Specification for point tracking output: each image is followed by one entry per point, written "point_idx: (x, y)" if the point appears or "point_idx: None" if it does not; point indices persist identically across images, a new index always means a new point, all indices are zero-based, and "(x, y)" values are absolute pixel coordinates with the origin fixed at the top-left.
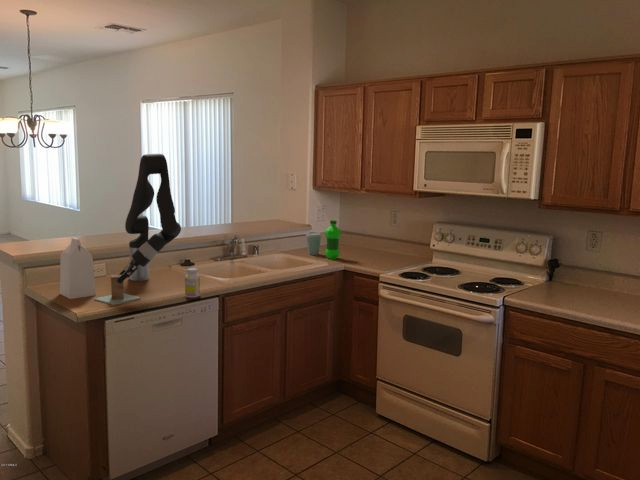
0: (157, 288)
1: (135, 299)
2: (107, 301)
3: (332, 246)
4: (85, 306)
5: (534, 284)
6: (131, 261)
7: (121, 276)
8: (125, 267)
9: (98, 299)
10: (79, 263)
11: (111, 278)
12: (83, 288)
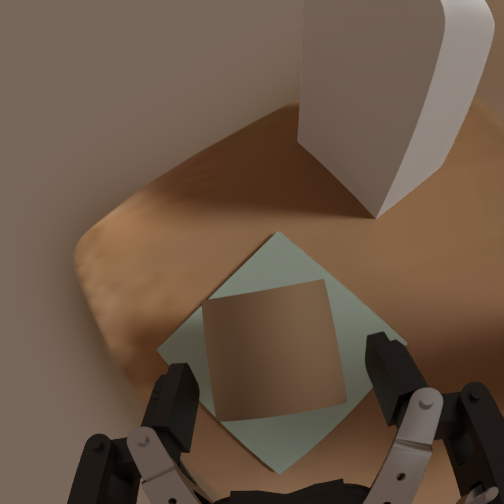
0: None
1: (253, 451)
2: None
3: None
4: (165, 228)
5: None
6: (492, 499)
7: (159, 410)
8: (393, 443)
9: (256, 256)
10: (350, 20)
11: (203, 306)
12: (344, 151)
